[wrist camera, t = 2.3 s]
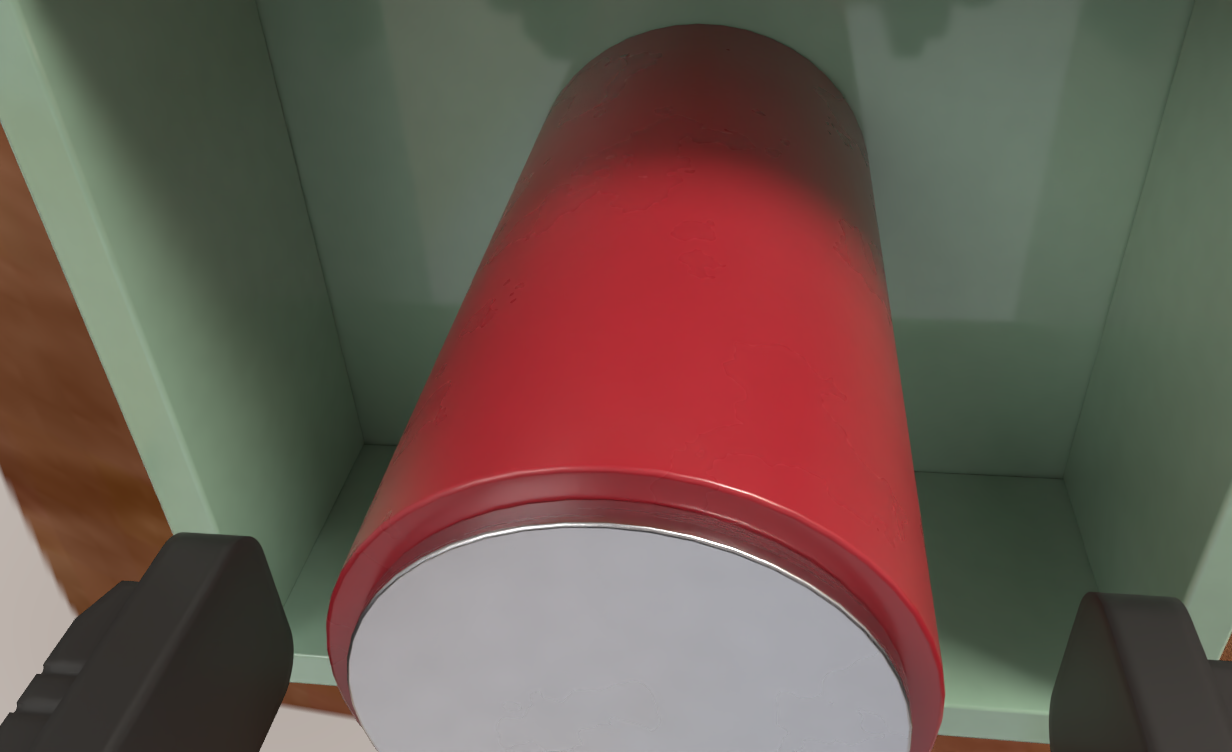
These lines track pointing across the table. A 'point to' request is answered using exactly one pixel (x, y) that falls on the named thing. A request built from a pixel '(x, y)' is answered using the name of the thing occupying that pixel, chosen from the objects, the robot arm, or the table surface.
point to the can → (659, 444)
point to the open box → (483, 183)
